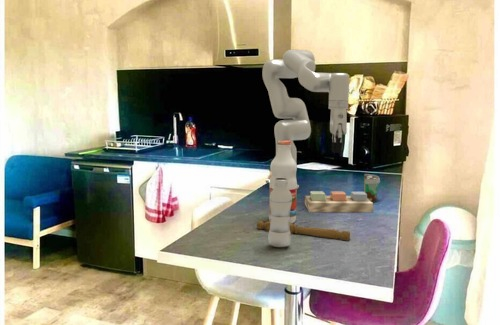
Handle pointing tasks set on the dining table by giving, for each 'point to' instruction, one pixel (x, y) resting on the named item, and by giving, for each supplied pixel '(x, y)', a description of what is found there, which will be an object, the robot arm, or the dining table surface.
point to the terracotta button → (338, 196)
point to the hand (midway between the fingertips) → (336, 151)
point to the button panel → (338, 205)
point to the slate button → (358, 196)
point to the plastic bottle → (280, 214)
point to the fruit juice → (284, 174)
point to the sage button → (317, 196)
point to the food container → (371, 186)
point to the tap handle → (310, 231)
